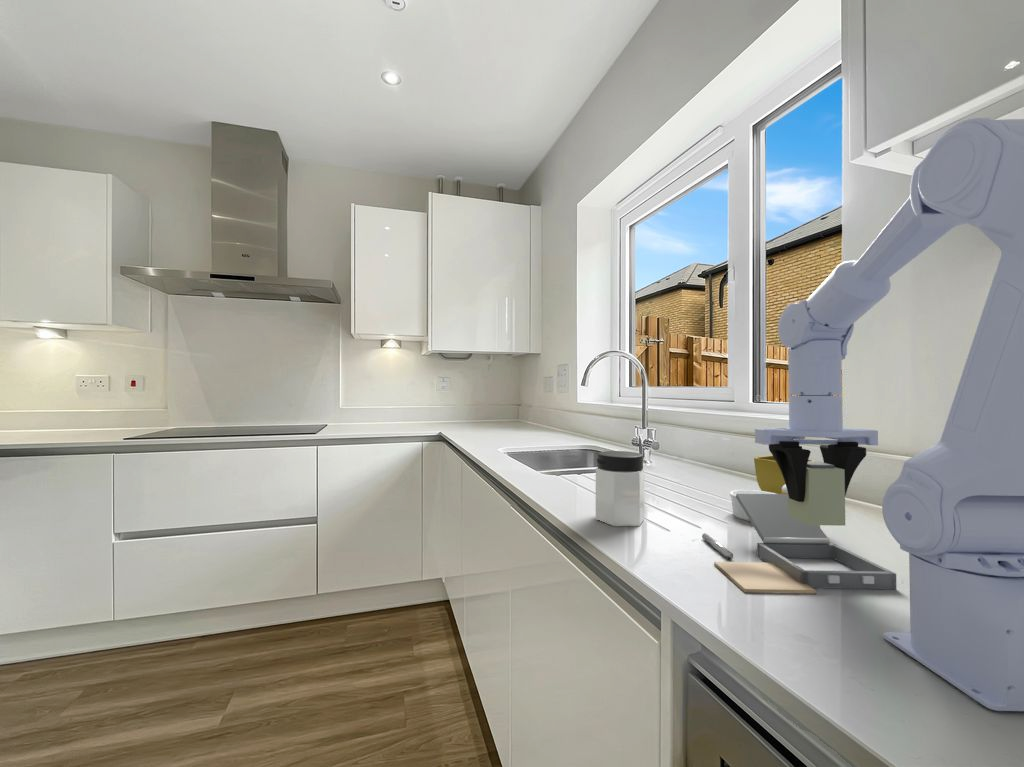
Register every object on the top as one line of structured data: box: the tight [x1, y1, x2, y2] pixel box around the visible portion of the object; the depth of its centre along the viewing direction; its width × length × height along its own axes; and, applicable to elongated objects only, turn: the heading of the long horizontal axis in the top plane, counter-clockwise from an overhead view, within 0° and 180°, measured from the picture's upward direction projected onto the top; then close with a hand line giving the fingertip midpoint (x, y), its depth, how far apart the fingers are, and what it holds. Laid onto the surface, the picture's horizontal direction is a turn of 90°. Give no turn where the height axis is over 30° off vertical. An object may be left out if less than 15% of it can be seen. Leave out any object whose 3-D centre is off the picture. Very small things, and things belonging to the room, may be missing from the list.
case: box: [756, 542, 897, 590], centre depth 56 cm, size 10×11×2 cm
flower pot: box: [753, 454, 817, 494], centre depth 93 cm, size 9×9×9 cm
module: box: [788, 461, 846, 527], centre depth 56 cm, size 4×4×7 cm
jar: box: [595, 450, 645, 527], centre depth 78 cm, size 9×8×12 cm
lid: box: [736, 494, 831, 544], centre depth 65 cm, size 8×9×7 cm
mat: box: [713, 561, 817, 595], centre depth 53 cm, size 8×8×1 cm
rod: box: [701, 532, 734, 560], centre depth 63 cm, size 8×1×1 cm, turn 178°
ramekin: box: [729, 489, 775, 522], centre depth 80 cm, size 9×9×4 cm
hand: (816, 500), depth 56 cm, fingers closed on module, 4 cm apart
